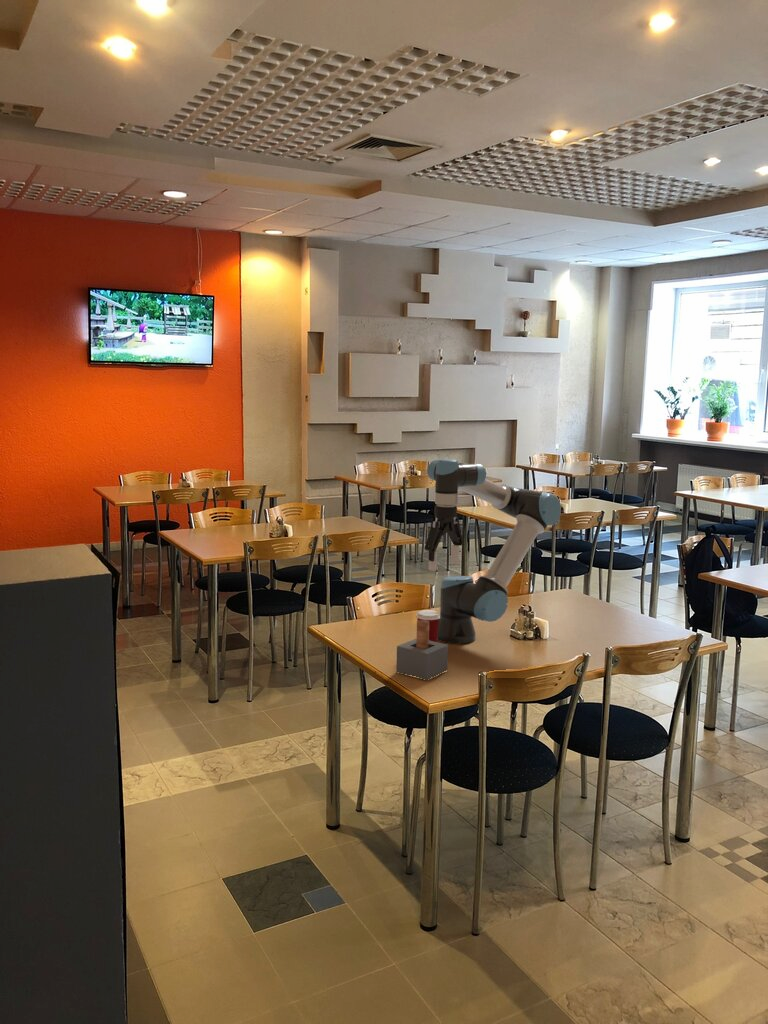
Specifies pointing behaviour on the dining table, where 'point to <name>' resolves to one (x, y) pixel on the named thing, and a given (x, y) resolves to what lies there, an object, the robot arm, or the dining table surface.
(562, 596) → the dining table surface
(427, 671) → the socket block
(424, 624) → the pin
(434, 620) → the coffee cup
